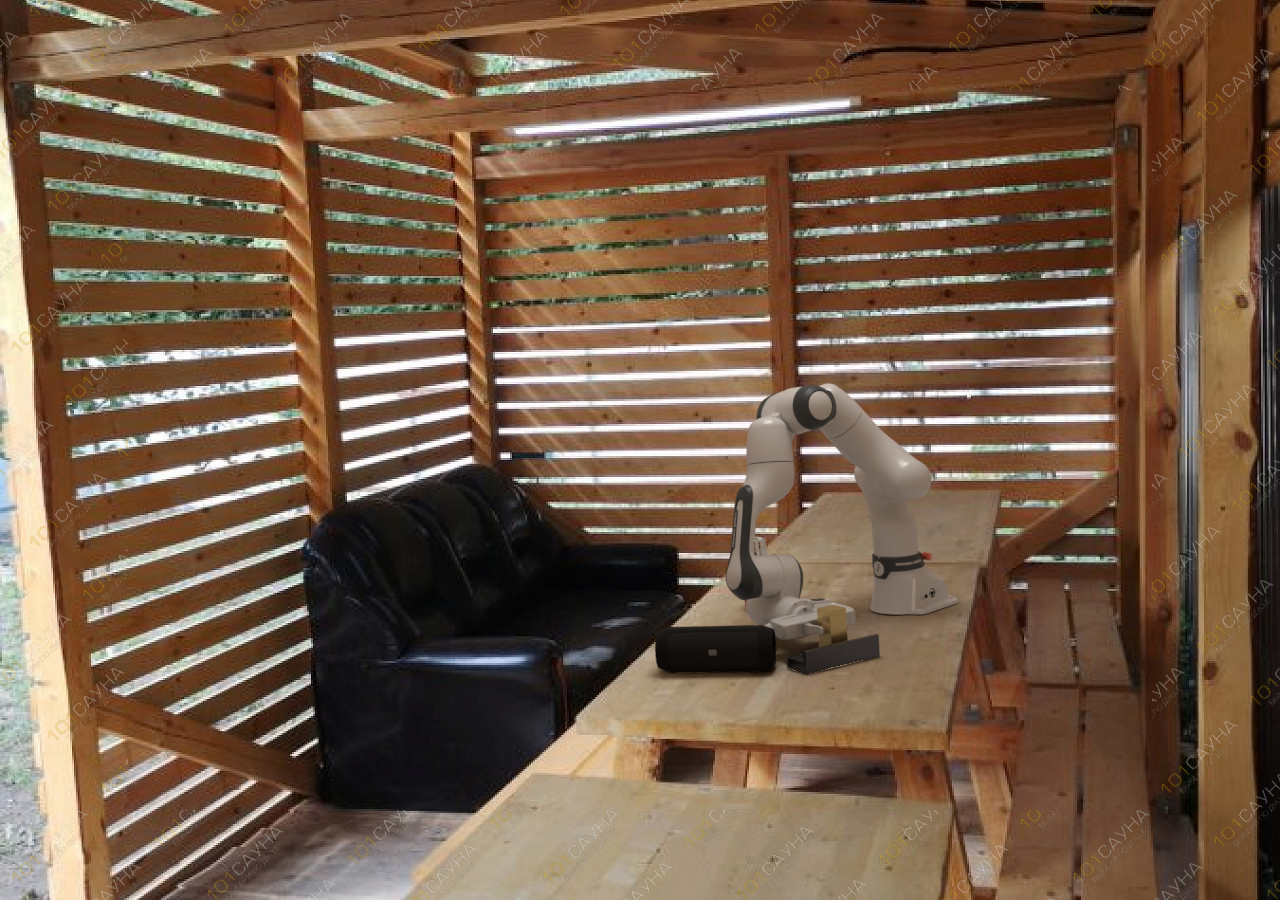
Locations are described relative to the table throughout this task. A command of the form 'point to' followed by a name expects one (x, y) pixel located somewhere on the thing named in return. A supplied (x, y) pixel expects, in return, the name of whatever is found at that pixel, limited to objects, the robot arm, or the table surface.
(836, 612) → the wooden block
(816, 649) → the rail
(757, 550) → the beer glass
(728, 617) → the table surface
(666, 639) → the portable speaker
